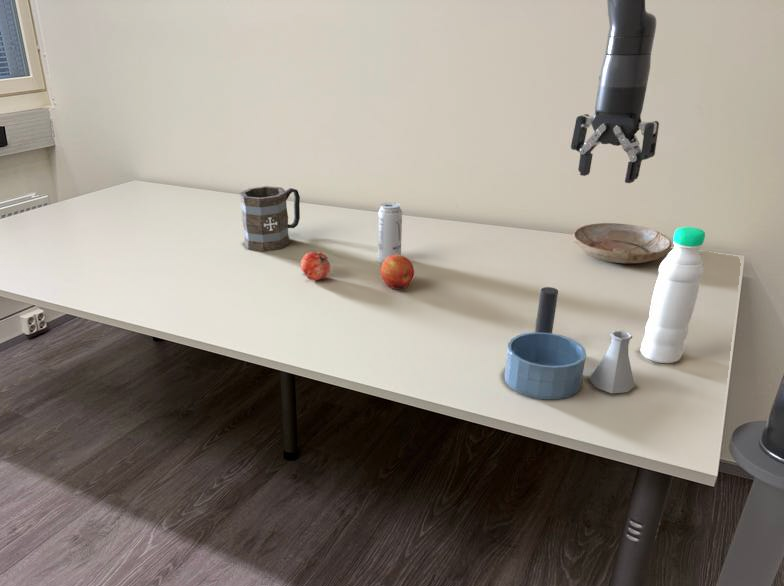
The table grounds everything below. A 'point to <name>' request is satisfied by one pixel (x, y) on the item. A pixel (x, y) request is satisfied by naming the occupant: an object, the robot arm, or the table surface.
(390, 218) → the energy drink can
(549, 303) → the chopping blade
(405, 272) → the apple
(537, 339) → the processor bowl
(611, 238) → the ceramic bowl
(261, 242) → the mug
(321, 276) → the pomegranate
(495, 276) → the table surface
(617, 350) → the flask
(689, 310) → the water bottle
